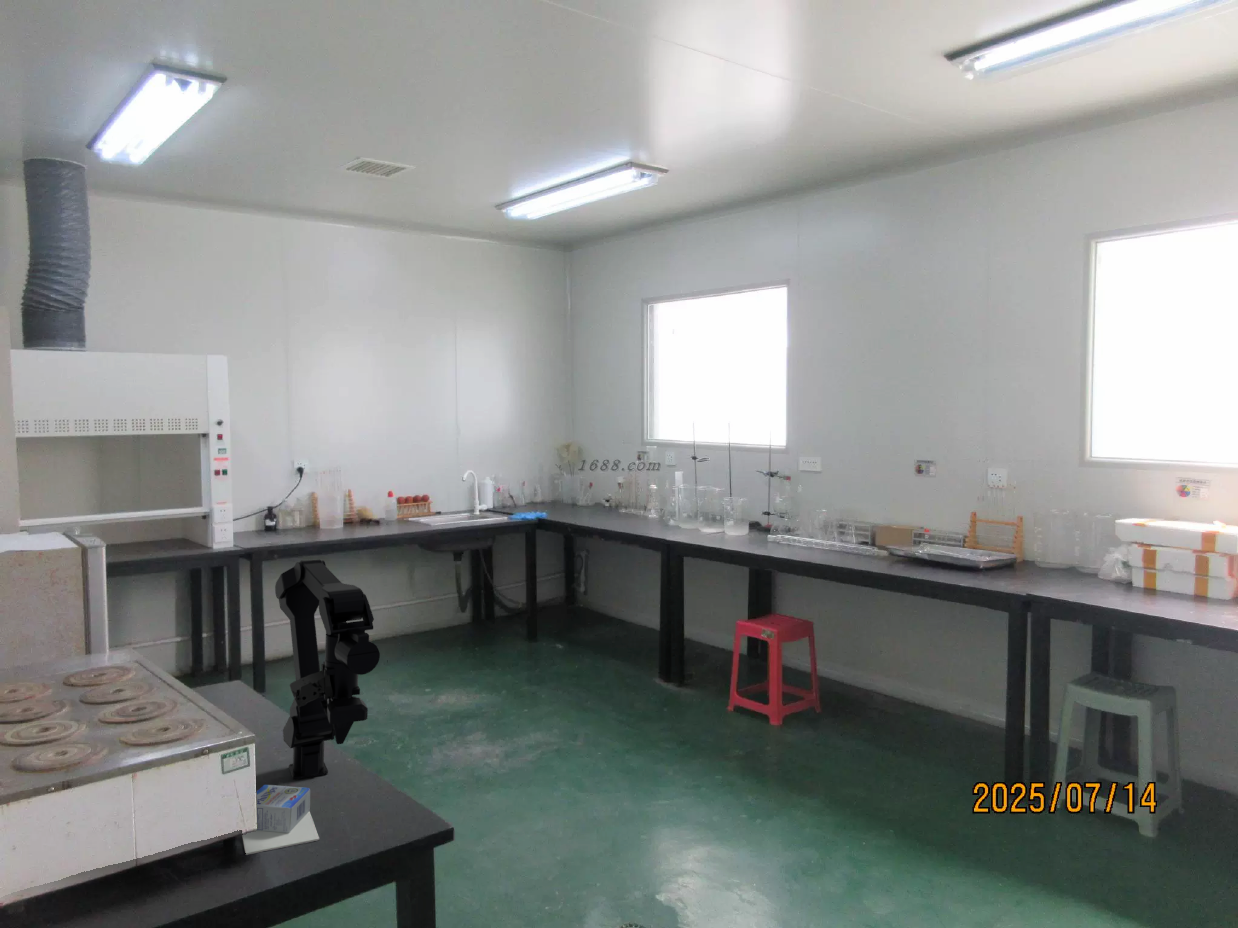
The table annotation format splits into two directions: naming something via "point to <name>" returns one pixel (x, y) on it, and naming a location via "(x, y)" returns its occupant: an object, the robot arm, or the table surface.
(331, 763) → the table surface
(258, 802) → the medicine box
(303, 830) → the mat
